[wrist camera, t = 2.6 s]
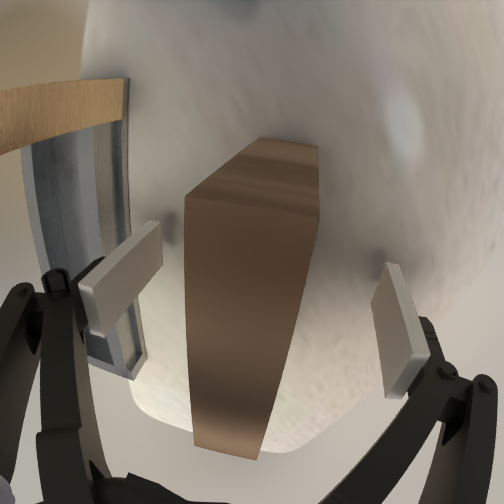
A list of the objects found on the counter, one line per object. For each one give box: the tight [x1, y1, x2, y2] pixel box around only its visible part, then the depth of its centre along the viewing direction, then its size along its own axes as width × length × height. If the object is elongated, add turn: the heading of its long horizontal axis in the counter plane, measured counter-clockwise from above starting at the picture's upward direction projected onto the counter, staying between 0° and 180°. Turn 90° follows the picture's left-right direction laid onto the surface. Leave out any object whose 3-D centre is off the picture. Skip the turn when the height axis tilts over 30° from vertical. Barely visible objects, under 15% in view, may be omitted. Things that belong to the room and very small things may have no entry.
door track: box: [0, 78, 147, 381], centre depth 16 cm, size 22×7×12 cm, turn 174°
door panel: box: [184, 138, 319, 460], centre depth 14 cm, size 12×3×10 cm, turn 174°
